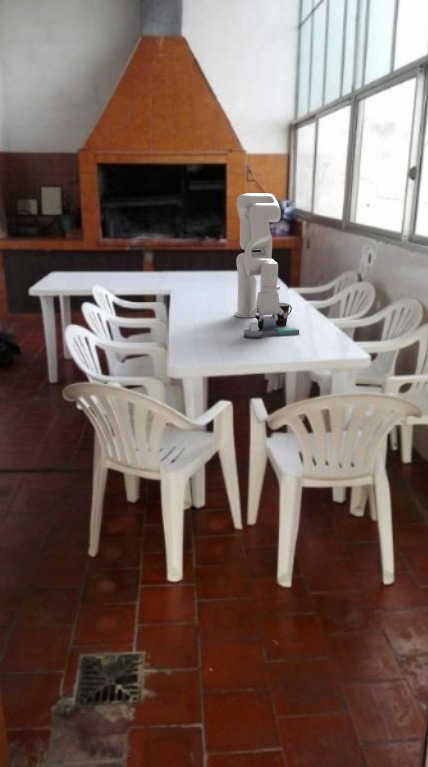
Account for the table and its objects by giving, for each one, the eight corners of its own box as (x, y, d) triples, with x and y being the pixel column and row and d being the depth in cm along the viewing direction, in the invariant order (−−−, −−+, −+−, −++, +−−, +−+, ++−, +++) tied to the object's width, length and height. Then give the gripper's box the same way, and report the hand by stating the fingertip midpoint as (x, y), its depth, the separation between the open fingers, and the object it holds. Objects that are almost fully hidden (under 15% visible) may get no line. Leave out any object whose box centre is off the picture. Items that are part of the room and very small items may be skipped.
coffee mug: (274, 327, 275) (275, 306, 272) (267, 323, 283) (268, 303, 280) (297, 326, 278) (298, 305, 275) (290, 322, 286) (291, 301, 282)
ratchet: (240, 334, 260) (241, 321, 258) (293, 331, 268) (294, 318, 266) (247, 339, 253) (247, 326, 251) (301, 335, 260) (302, 322, 258)
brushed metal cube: (258, 328, 270) (258, 316, 268) (270, 328, 272) (271, 315, 270) (263, 332, 265) (263, 319, 263) (275, 331, 266) (276, 318, 264)
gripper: (282, 287, 268) (281, 325, 274) (247, 288, 263) (246, 328, 269) (289, 290, 261) (287, 329, 267) (253, 291, 256) (252, 331, 262)
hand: (267, 328), depth 268 cm, fingers closed on brushed metal cube, 6 cm apart
